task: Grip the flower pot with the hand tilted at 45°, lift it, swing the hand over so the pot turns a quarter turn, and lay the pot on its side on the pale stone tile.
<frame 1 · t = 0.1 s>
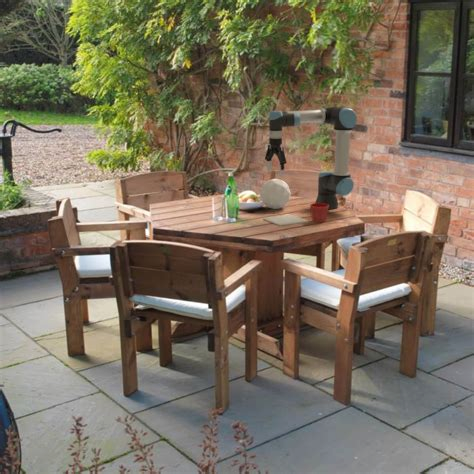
hand: (275, 173, 432), 28 cm above the table, tool pointing down, fingers open, 13 cm apart
stone tile: (285, 220, 435), on the table
geometric orb: (275, 208, 469), on the table
flower pot: (319, 221, 437), on the table
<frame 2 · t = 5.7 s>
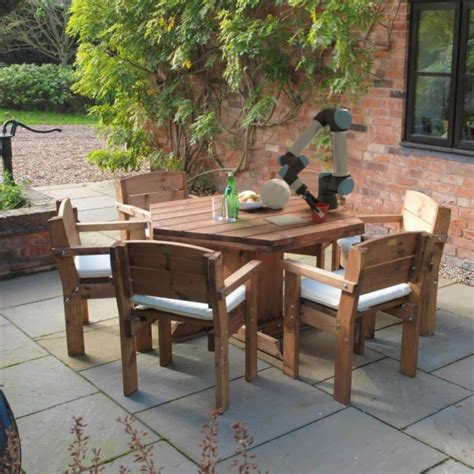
hand: (324, 214, 435), 4 cm above the table, tool tilted 45°, fingers closed on flower pot, 11 cm apart
flower pot: (319, 221, 437), on the table, touching gripper
everything else where it was.
when the fingers open (4 cm above the table, at t = 13.5 s): flower pot drops 3 cm, resting on stone tile.
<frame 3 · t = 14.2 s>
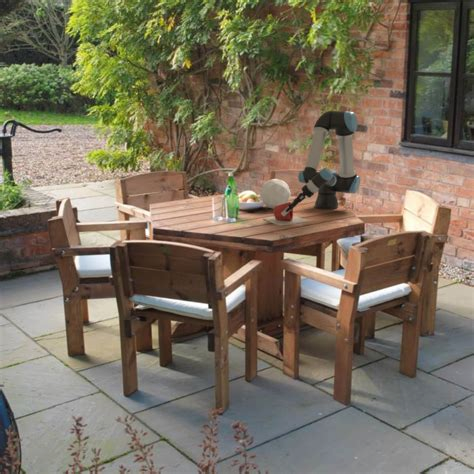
hand: (284, 212, 434), 5 cm above the table, tool tilted 45°, fingers open, 13 cm apart
flower pot: (274, 212, 435), point 5 cm above the table, touching gripper, stone tile
everything else where it was.
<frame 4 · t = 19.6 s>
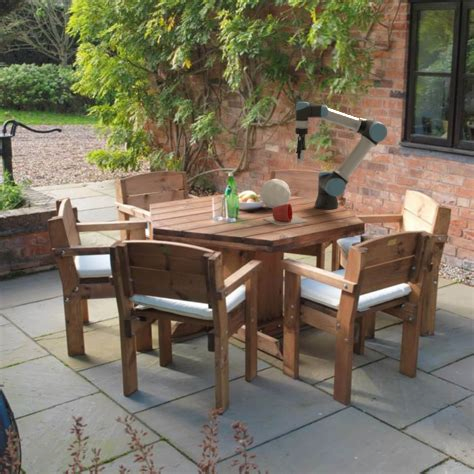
hand: (300, 162, 449), 32 cm above the table, tool pointing down, fingers open, 13 cm apart
flower pot: (274, 213, 432), point 5 cm above the table, touching stone tile
everything else where it was.
at the end: flower pot tilted 81°; flower pot inside the target area on the stone tile (7.7 cm from its centre), point 4.6 cm above the stone tile's base; the gripper is holding nothing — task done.
